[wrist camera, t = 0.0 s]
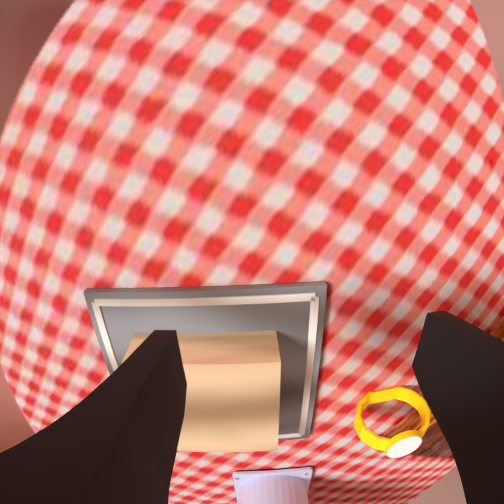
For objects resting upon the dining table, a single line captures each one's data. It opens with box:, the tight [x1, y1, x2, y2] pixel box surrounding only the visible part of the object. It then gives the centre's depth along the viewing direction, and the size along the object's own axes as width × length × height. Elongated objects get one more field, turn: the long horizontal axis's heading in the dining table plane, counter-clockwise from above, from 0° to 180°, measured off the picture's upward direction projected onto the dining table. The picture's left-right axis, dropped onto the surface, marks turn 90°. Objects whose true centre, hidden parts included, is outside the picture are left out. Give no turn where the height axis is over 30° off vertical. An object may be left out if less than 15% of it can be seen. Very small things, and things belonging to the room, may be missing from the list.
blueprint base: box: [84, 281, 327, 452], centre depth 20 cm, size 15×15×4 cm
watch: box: [354, 386, 431, 458], centre depth 21 cm, size 6×3×6 cm, turn 94°
